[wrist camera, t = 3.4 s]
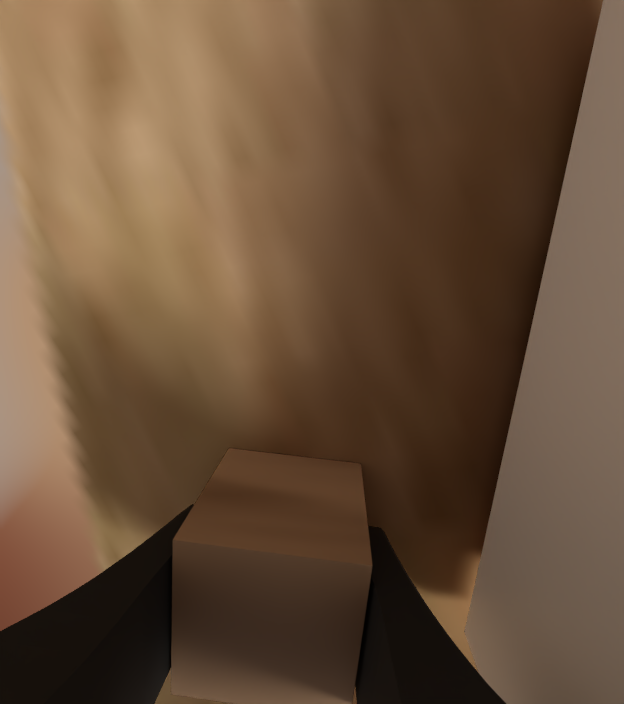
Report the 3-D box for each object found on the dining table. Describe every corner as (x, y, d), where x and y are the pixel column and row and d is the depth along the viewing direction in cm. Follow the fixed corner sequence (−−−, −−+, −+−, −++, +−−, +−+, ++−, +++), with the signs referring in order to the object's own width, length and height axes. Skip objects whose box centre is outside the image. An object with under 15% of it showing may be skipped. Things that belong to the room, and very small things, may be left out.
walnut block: (345, 576, 12) (349, 720, 8) (223, 560, 12) (170, 694, 8) (360, 463, 11) (372, 566, 7) (228, 448, 12) (172, 539, 8)
